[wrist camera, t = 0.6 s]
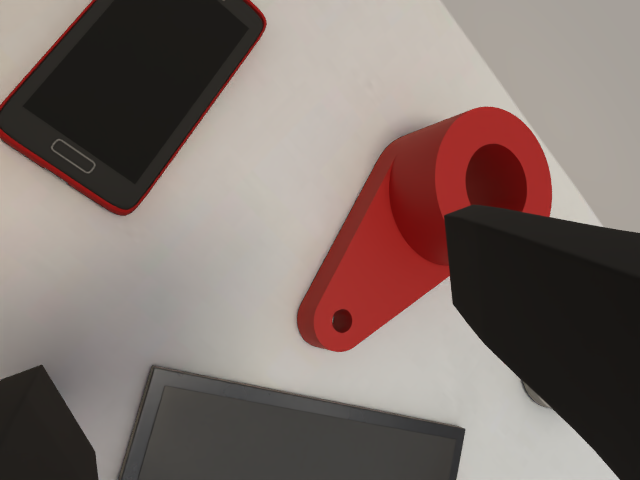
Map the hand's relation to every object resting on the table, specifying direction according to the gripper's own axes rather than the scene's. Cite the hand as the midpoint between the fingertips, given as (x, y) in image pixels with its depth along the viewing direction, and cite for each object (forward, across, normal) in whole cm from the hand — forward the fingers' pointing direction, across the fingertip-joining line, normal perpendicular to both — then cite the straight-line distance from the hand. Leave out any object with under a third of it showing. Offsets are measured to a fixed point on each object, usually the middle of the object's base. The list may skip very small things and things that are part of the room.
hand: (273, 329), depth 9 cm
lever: (+22, -11, +13) cm, 28 cm away
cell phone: (+24, 0, -1) cm, 24 cm away
